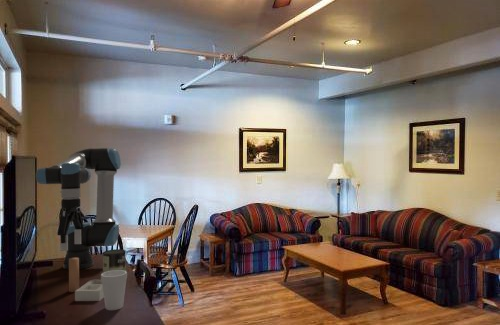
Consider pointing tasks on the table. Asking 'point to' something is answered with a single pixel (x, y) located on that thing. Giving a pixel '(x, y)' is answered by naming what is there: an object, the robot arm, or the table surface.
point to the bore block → (90, 291)
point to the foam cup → (114, 288)
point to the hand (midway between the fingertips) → (71, 247)
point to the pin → (73, 274)
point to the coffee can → (114, 260)
